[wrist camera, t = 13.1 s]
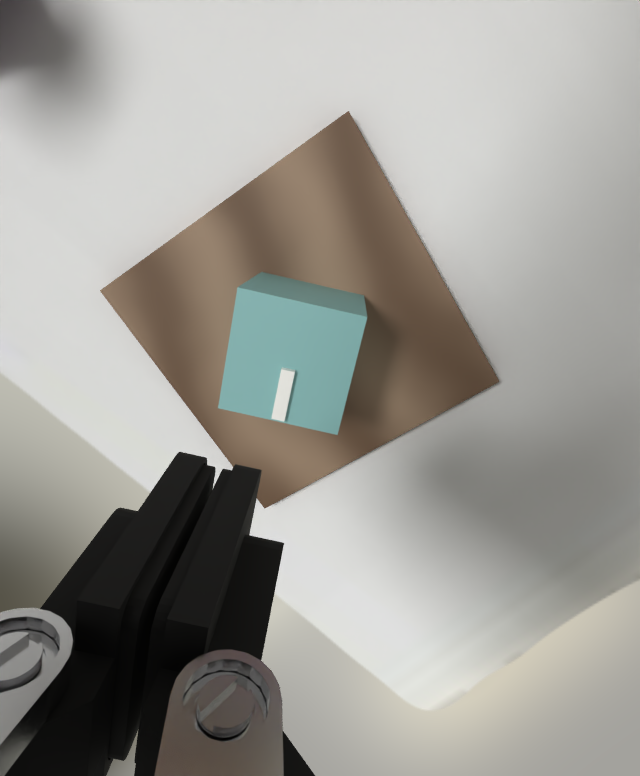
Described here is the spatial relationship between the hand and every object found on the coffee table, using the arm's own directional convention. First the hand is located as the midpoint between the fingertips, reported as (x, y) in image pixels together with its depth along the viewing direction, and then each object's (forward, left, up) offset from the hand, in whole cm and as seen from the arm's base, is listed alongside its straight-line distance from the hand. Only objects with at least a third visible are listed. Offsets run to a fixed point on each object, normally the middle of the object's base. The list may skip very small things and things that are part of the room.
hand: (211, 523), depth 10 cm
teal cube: (0, 0, -19) cm, 19 cm away
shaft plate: (0, 0, -20) cm, 20 cm away
